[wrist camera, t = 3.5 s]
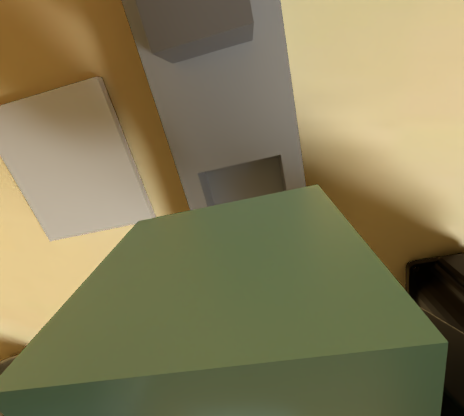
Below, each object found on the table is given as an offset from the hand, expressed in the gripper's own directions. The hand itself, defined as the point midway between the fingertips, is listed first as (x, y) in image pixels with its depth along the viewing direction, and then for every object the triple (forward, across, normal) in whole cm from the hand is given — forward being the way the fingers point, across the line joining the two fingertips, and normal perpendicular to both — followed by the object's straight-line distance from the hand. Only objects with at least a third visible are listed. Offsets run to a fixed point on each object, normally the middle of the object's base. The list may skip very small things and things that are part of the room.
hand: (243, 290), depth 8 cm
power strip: (+11, 0, -5) cm, 12 cm away
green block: (+2, 0, 0) cm, 2 cm away
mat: (+11, +12, -4) cm, 17 cm away
